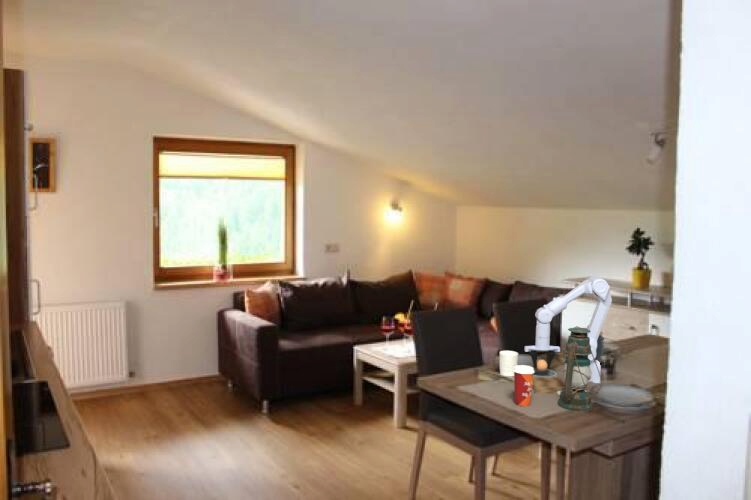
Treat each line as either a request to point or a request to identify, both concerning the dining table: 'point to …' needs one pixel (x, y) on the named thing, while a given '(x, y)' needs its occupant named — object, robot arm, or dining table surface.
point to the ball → (541, 365)
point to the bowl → (544, 373)
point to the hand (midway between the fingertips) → (541, 368)
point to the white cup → (508, 362)
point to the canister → (599, 345)
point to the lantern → (577, 372)
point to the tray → (547, 385)
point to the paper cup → (523, 384)
